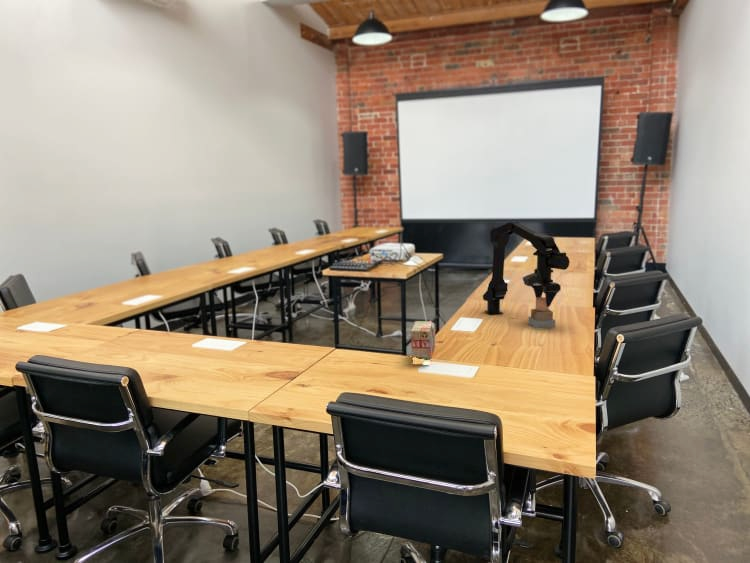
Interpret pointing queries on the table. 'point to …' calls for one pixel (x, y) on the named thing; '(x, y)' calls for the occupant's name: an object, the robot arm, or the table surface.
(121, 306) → the table surface
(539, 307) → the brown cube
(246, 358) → the table surface
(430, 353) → the cardboard box
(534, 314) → the tower top
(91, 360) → the table surface
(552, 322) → the tower base
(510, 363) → the table surface
